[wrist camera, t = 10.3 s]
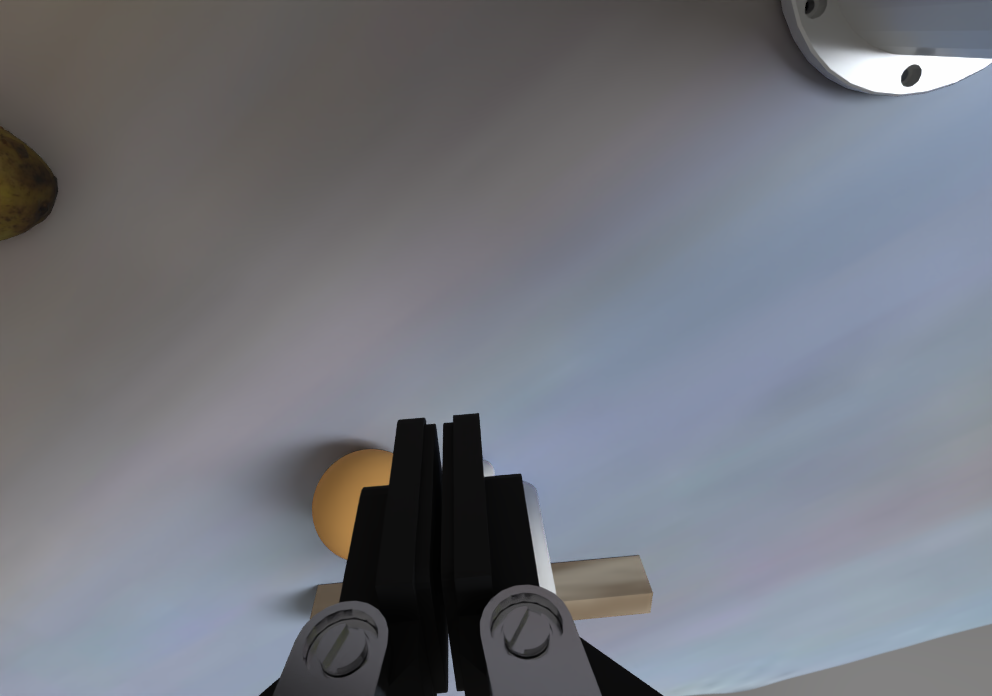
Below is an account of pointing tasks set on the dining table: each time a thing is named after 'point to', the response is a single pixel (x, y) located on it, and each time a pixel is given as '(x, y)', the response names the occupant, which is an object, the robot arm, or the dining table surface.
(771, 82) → the dining table surface
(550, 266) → the dining table surface
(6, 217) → the potato
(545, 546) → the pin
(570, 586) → the bar
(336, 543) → the ball
